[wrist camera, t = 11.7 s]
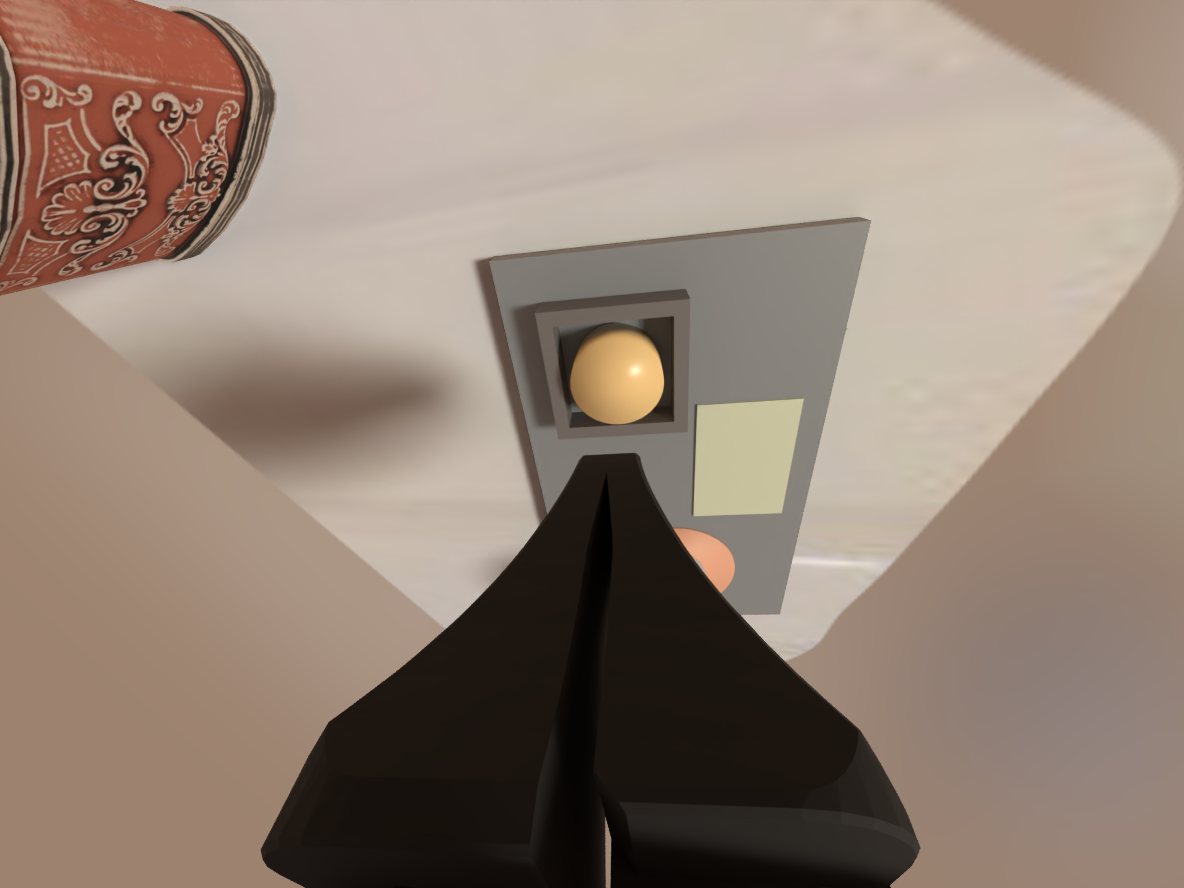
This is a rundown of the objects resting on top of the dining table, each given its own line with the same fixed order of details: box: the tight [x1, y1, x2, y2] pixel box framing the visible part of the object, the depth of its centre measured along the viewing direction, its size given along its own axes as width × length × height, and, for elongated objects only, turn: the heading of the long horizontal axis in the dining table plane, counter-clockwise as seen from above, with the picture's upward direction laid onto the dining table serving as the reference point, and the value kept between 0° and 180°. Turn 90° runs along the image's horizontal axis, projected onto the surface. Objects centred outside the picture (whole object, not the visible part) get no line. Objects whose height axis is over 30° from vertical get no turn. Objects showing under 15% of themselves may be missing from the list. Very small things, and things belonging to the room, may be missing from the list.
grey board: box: [489, 217, 871, 615], centre depth 19 cm, size 20×12×2 cm, turn 6°
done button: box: [570, 323, 664, 424], centre depth 15 cm, size 3×3×2 cm
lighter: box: [0, 0, 276, 295], centre depth 10 cm, size 8×3×10 cm, turn 132°
